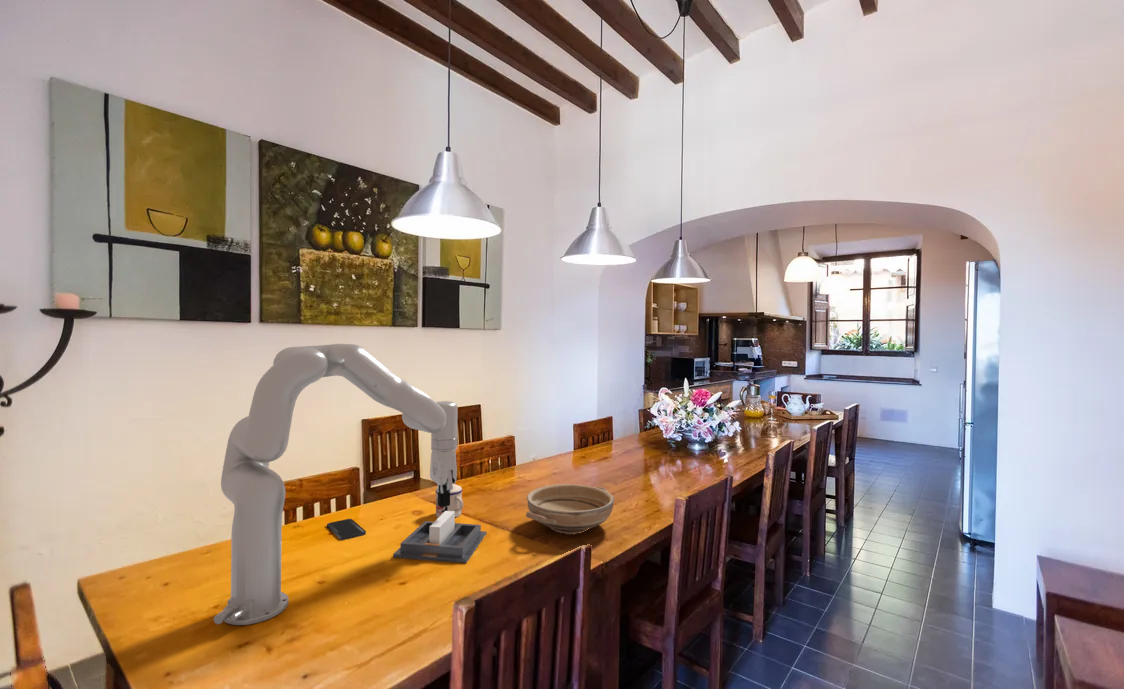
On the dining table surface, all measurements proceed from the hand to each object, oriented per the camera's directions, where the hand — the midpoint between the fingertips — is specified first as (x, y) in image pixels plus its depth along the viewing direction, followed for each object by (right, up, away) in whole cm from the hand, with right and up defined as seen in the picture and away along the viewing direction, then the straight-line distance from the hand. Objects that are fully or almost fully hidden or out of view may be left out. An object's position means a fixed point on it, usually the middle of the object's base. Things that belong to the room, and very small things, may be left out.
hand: (443, 505), depth 147 cm
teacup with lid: (-3, -12, +25) cm, 27 cm away
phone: (-33, -12, +10) cm, 37 cm away
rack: (0, -12, 0) cm, 12 cm away
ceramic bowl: (+37, -13, +16) cm, 43 cm away
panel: (0, -11, 0) cm, 11 cm away
